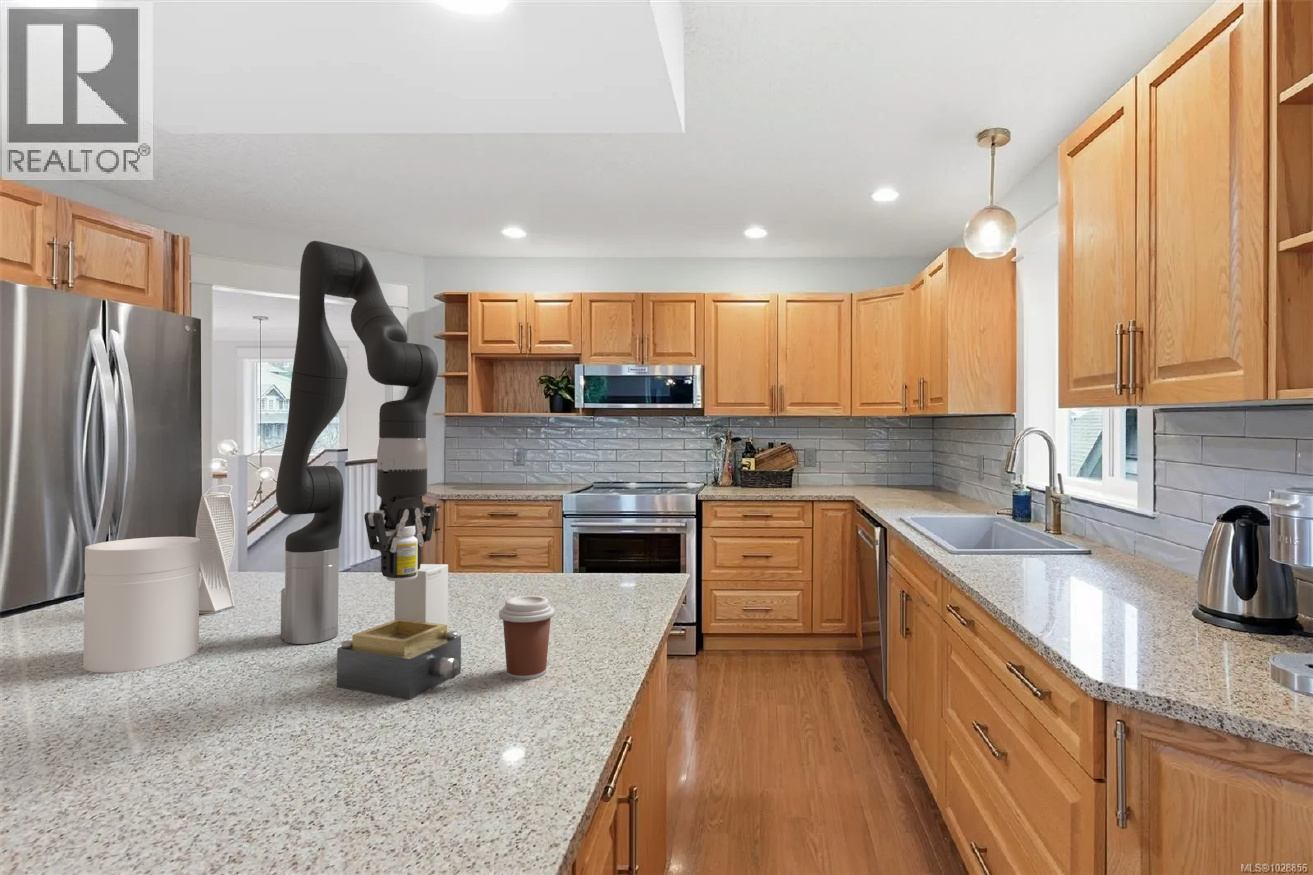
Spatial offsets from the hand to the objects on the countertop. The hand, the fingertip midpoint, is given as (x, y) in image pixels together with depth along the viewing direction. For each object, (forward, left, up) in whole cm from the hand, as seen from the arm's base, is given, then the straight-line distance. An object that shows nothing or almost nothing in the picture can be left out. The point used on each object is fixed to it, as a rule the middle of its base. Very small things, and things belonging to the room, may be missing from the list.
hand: (401, 572), depth 105 cm
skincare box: (-6, +12, -17) cm, 22 cm away
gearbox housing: (+2, 0, -17) cm, 17 cm away
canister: (-50, -7, -17) cm, 53 cm away
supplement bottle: (0, 0, -1) cm, 1 cm away
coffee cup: (+17, +10, -17) cm, 26 cm away
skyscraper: (-70, +20, -17) cm, 75 cm away
